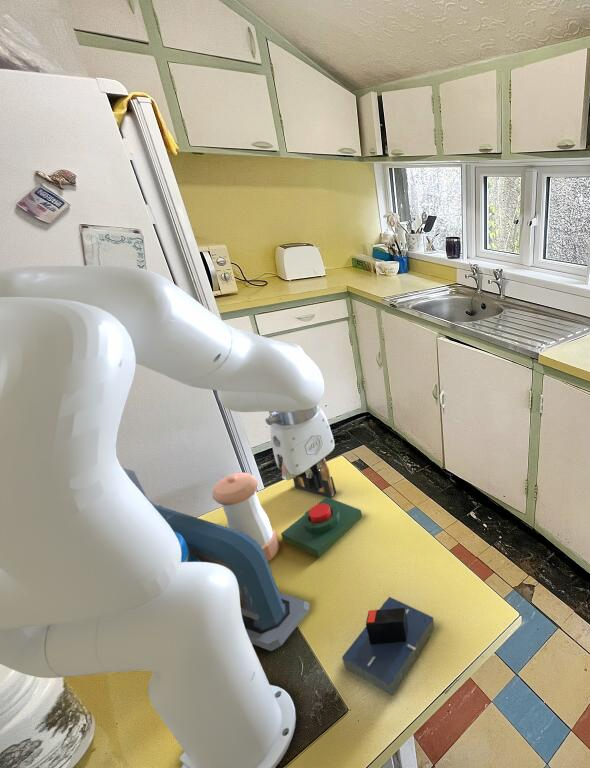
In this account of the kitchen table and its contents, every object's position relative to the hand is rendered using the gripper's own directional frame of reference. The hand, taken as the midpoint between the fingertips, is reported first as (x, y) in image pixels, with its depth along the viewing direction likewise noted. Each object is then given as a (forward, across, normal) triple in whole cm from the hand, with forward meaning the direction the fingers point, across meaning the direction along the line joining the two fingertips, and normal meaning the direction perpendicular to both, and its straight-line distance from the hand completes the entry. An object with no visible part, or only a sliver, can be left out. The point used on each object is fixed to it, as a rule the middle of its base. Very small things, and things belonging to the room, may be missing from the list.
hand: (314, 487), depth 83 cm
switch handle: (+8, -14, -29) cm, 34 cm away
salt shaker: (+11, -11, +7) cm, 17 cm away
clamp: (+11, -20, +5) cm, 24 cm away
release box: (+11, -1, 0) cm, 11 cm away
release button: (+7, -1, 0) cm, 7 cm away
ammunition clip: (+12, +7, +11) cm, 17 cm away
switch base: (+11, -14, -29) cm, 34 cm away
